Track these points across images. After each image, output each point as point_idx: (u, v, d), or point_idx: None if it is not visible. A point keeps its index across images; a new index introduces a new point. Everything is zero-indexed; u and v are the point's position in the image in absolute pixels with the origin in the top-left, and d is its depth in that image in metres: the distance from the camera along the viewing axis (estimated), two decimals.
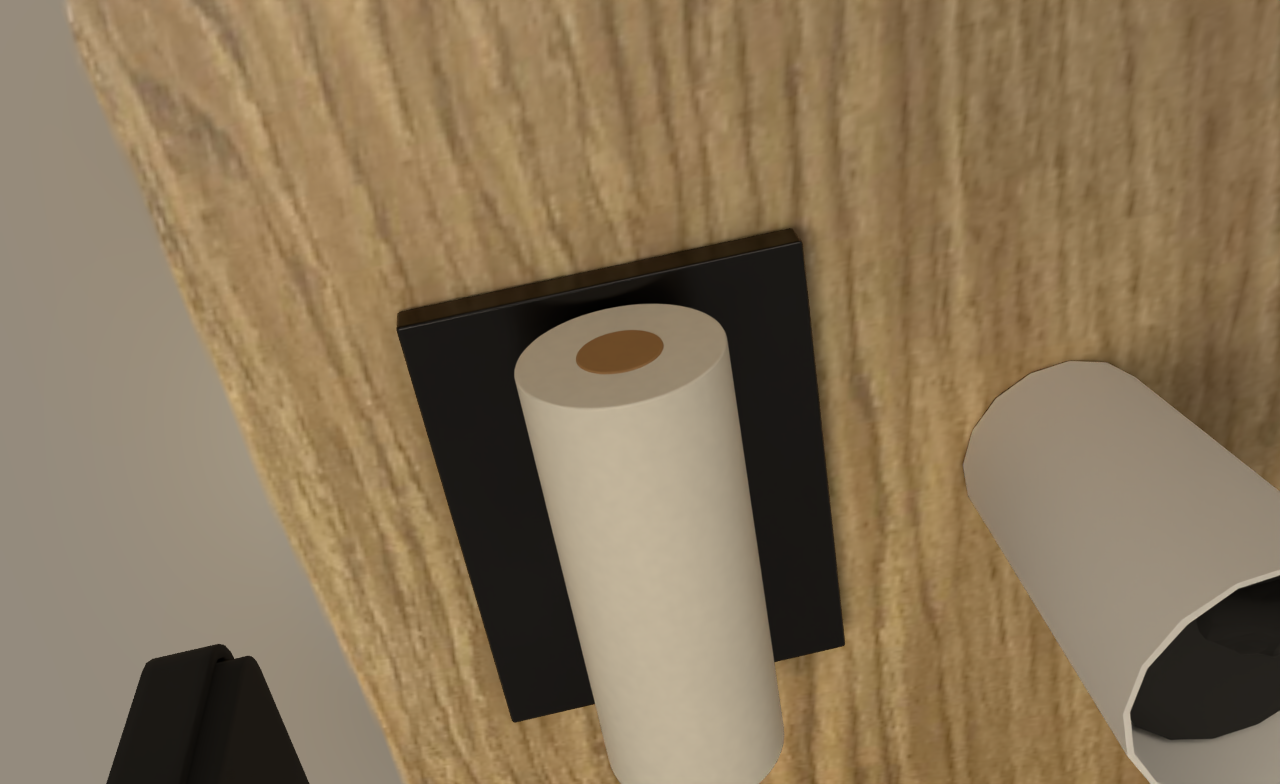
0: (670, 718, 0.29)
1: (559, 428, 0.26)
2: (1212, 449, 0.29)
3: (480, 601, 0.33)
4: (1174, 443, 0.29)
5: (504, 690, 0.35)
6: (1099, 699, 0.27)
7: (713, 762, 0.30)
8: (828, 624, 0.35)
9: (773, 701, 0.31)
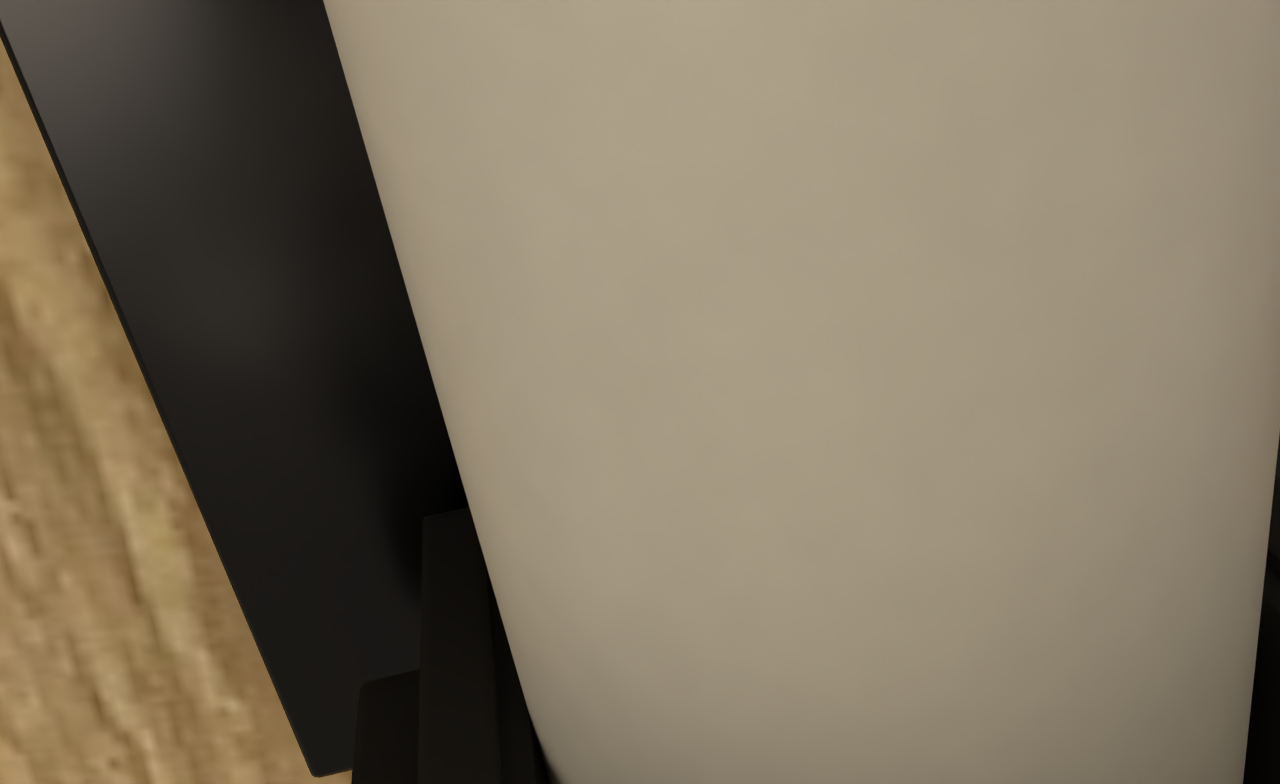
0: None
1: None
2: None
3: (155, 378, 0.10)
4: None
5: (275, 682, 0.11)
6: None
7: None
8: None
9: None
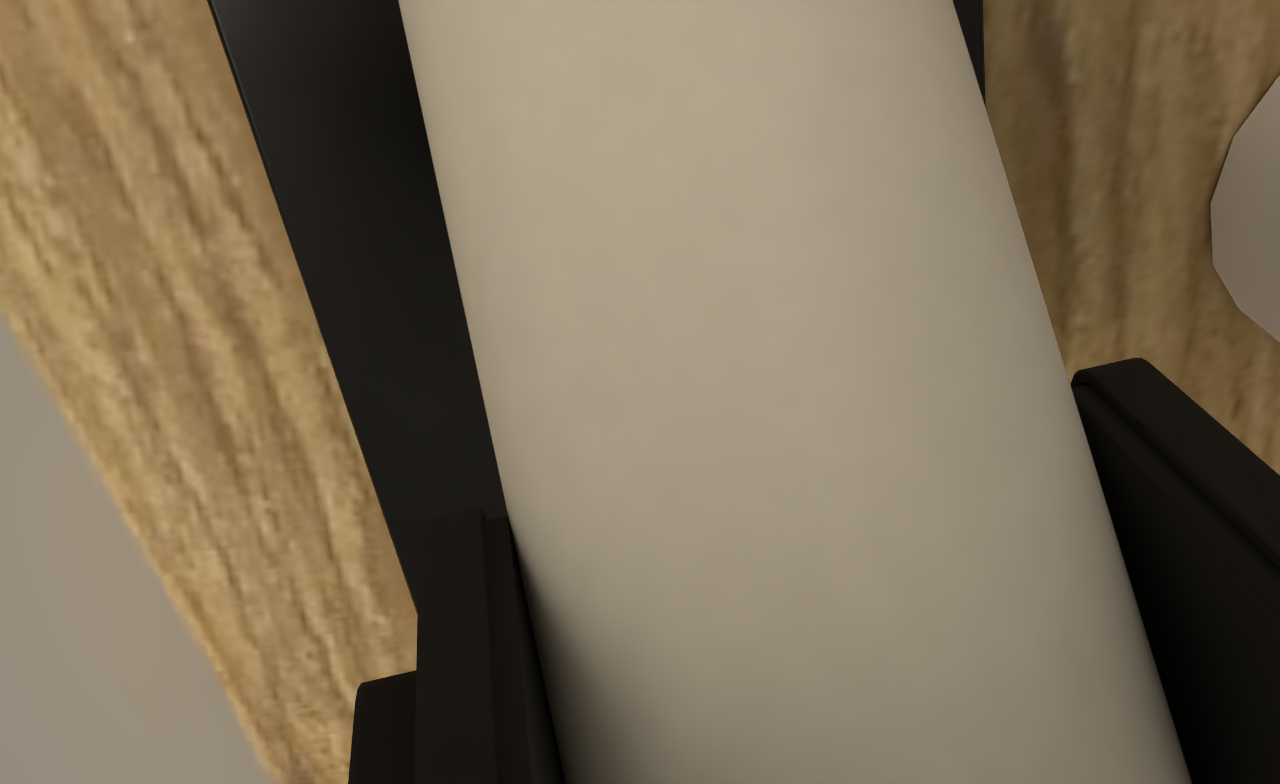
0: (754, 491, 0.08)
1: None
2: None
3: (363, 436, 0.18)
4: None
5: (415, 602, 0.20)
6: None
7: (945, 719, 0.08)
8: None
9: (1132, 599, 0.09)
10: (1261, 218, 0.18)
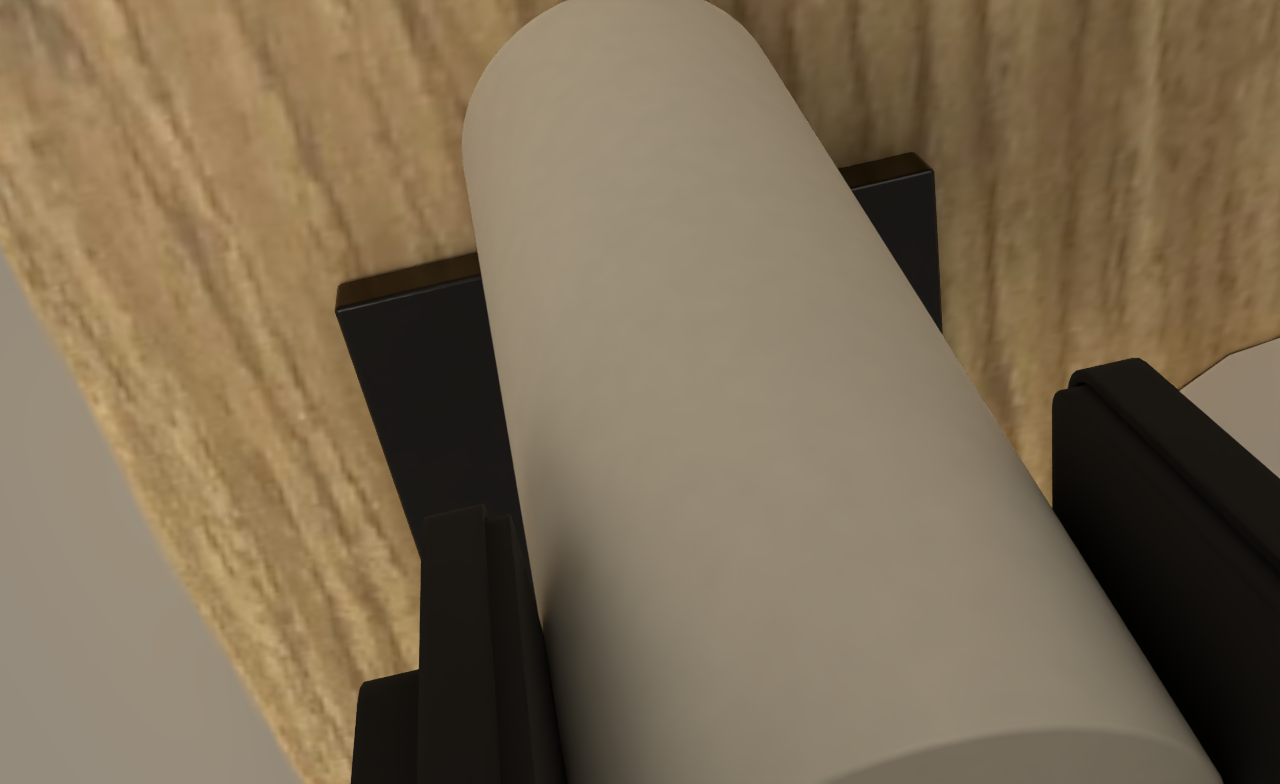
0: (708, 435, 0.10)
1: (494, 77, 0.16)
2: None
3: None
4: None
5: None
6: None
7: (875, 558, 0.09)
8: None
9: (1087, 565, 0.10)
10: None
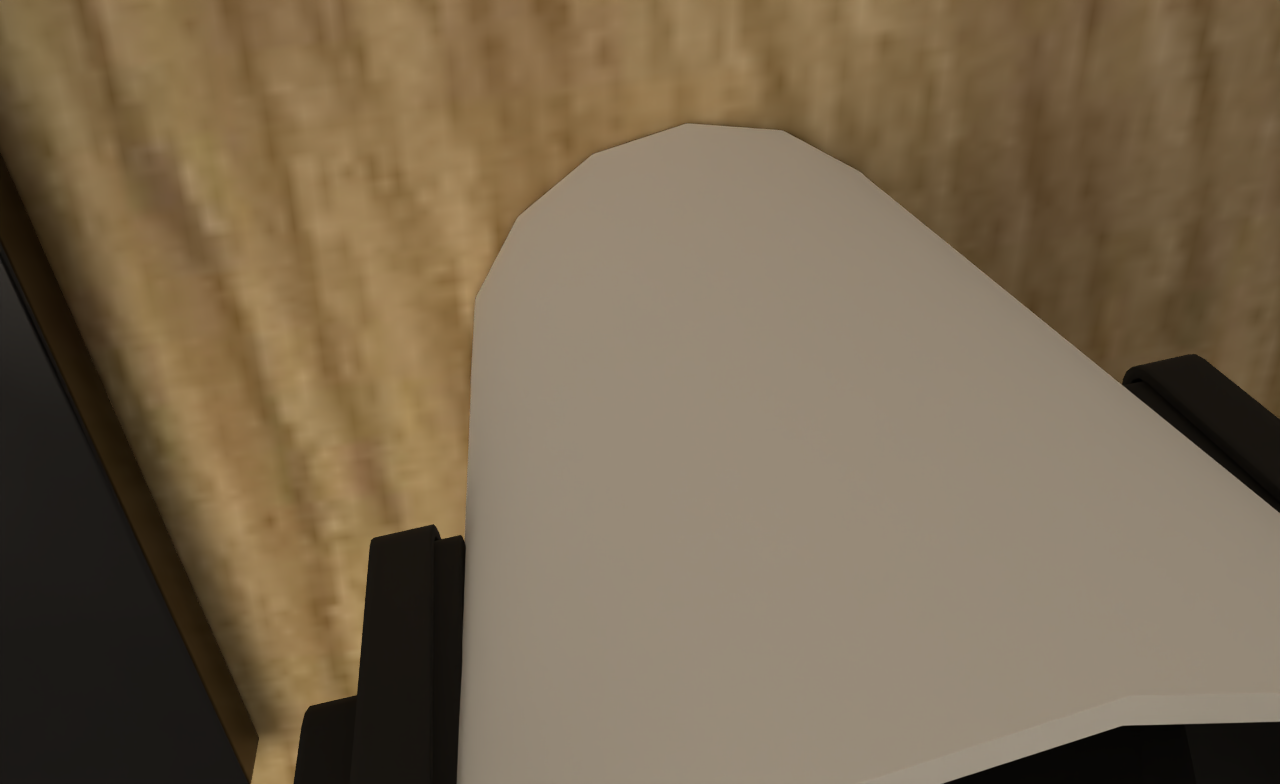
0: None
1: None
2: (950, 284, 0.09)
3: None
4: (835, 266, 0.10)
5: None
6: None
7: None
8: (192, 746, 0.16)
9: None
10: None
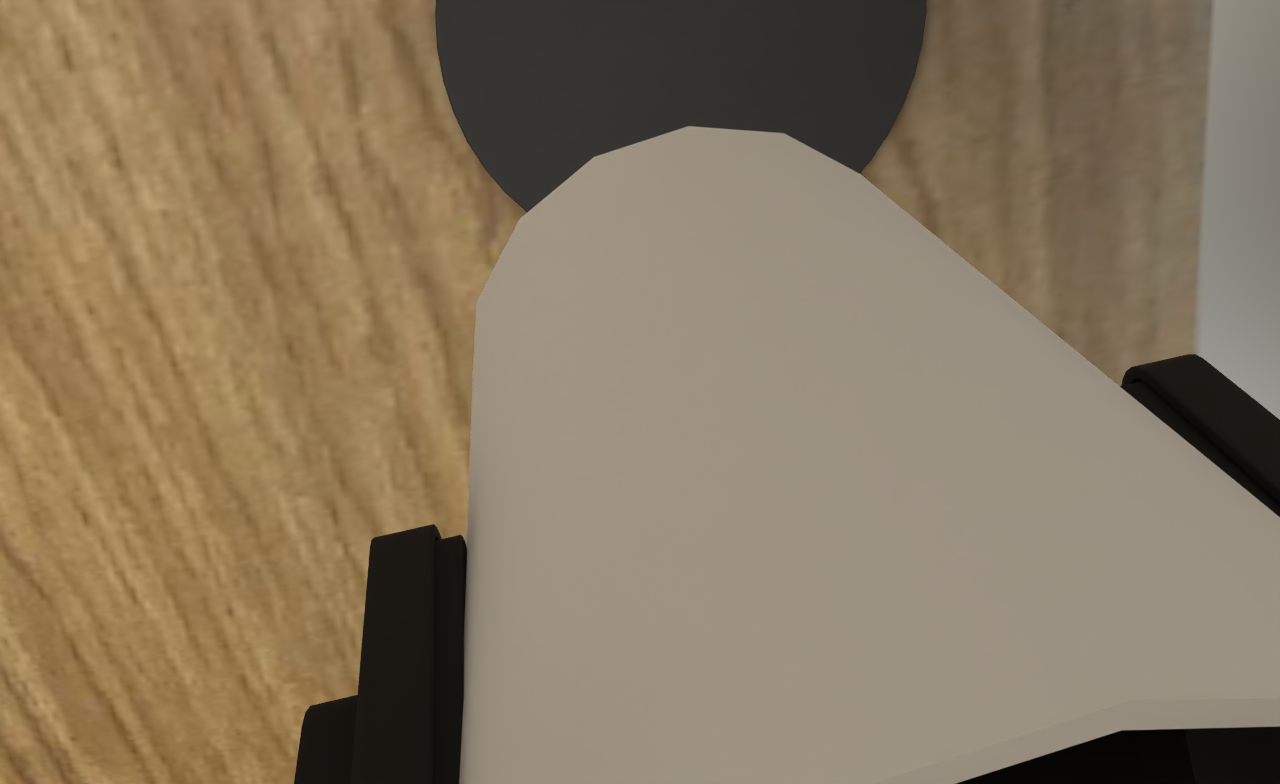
0: None
1: None
2: (951, 287, 0.09)
3: None
4: (836, 270, 0.10)
5: None
6: None
7: None
8: None
9: None
10: (471, 419, 0.14)
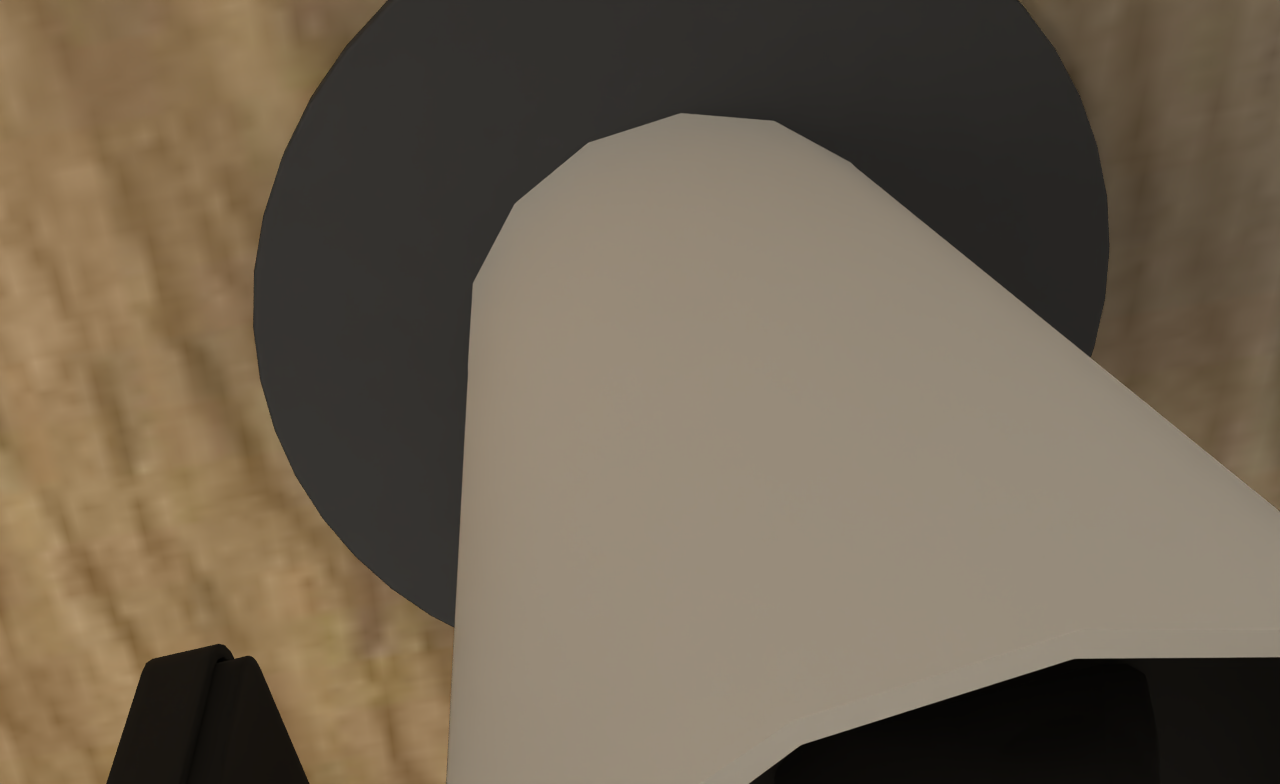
0: None
1: None
2: (931, 264, 0.10)
3: None
4: (820, 246, 0.10)
5: None
6: None
7: None
8: None
9: None
10: None
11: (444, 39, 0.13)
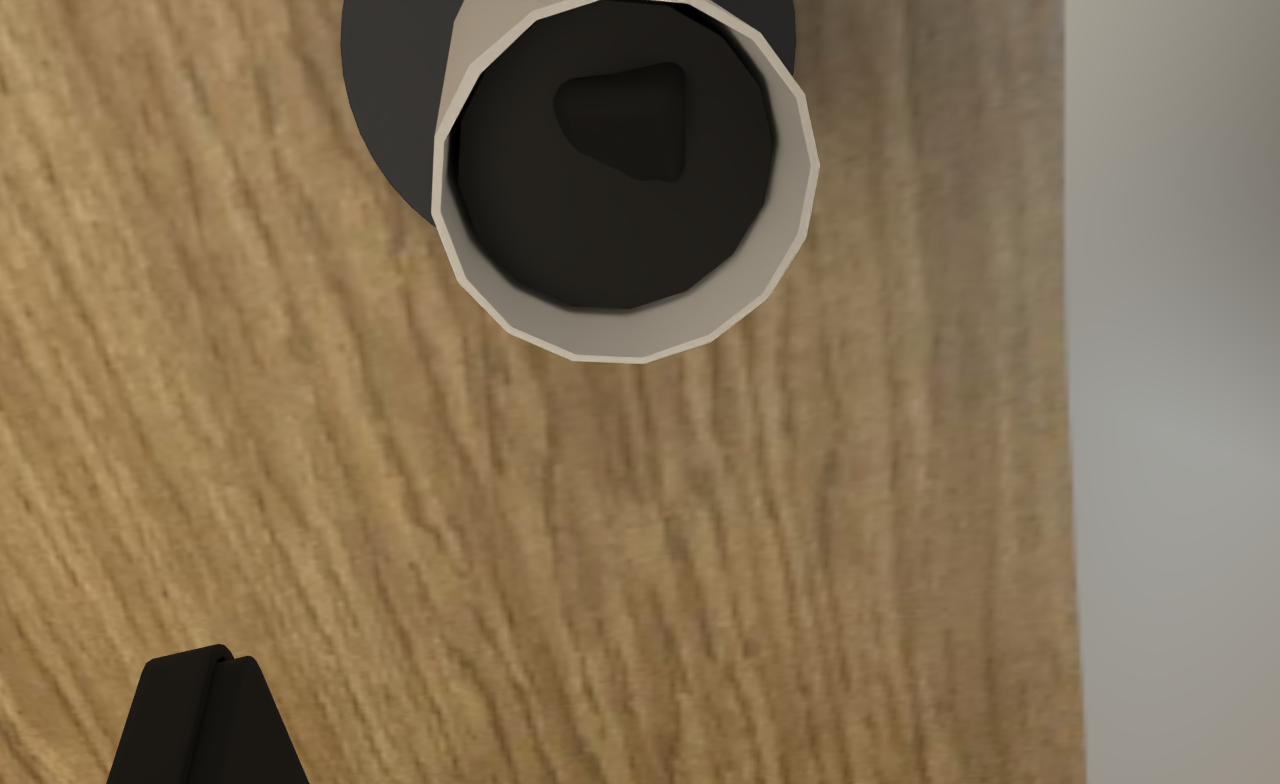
0: None
1: None
2: None
3: None
4: None
5: None
6: None
7: None
8: None
9: None
10: None
11: None
